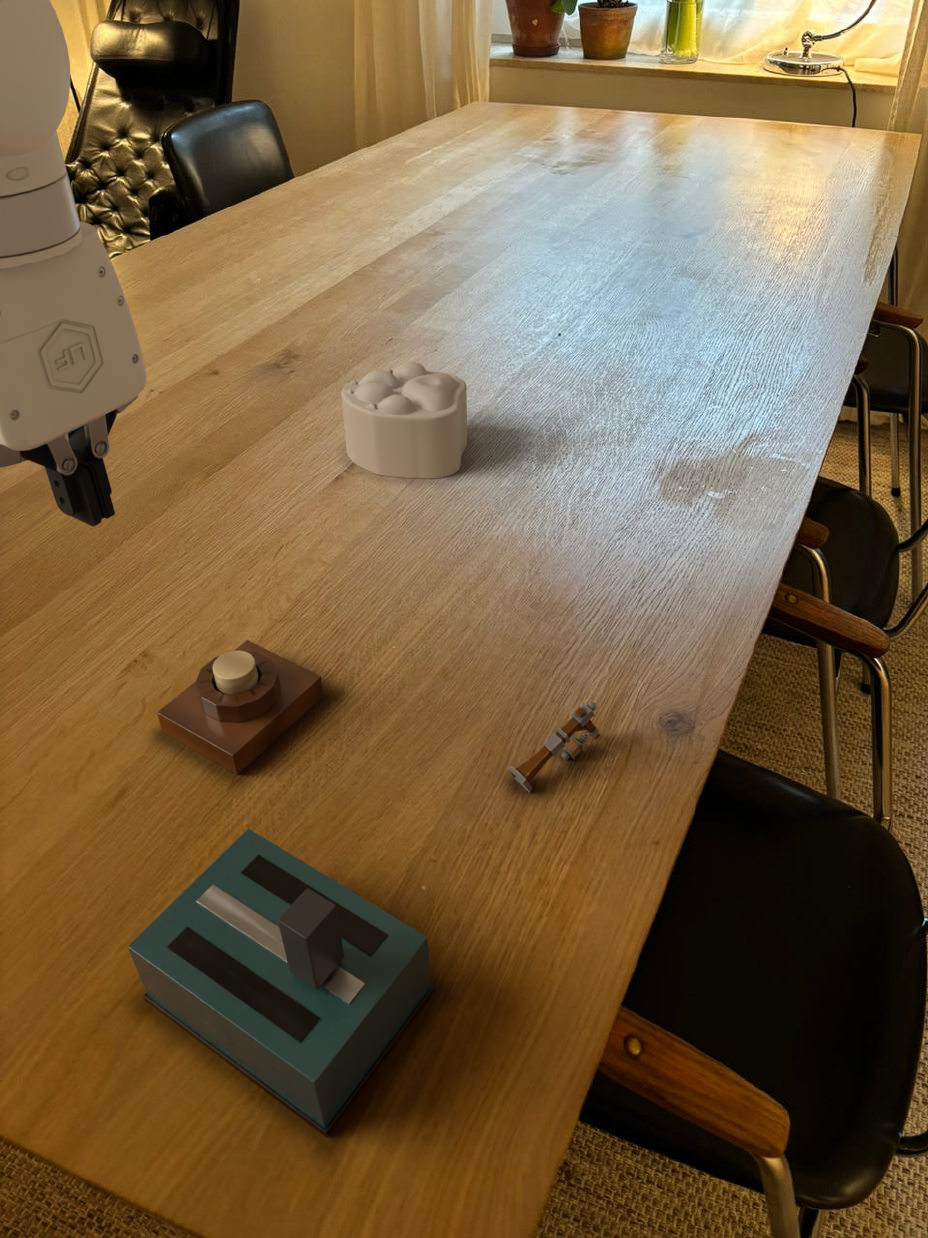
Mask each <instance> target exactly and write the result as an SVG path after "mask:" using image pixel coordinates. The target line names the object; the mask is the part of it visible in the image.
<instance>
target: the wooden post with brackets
mask: <svg viewBox="0 0 928 1238" xmlns="http://www.w3.org/2000/svg"><path fill="white" fill-rule="evenodd" d="M596 710H597V703H595V702H594V701H589V702H588V703H584V702H582V704H581V705H580V706H579V707H578V708H577V709H576V710H574V712H573V713H572V714H571V718H570V719H569V720H568V721H567V722H566V723H564V724H563V726H562V727H557V728H556V729H555V731H556V733H555V732H552V733H551V735H550V737H548V739H546V740H545V741H544V742H542V747H541V748H539V750H537V751H536V752H535V753H534V754H533V755H531V756H530V757H529V758H527V759H526V760H525V761H524V762H522V763H521V764H519V765H517V766H516V767H514V766H513V765H512V764H511V765H510V766H509V767H507V768H506V769H507V770H508V772H510V774H511V775H512V777H513V778H514V779H515V780H516V781H517V782H518V783H519V785H521V786H522V787H523V788H524V789H525V790H526V791H527V792H528V793H531V791H532V790H533V789H534V787H532V785H531V784H532V782H533V781H534V779H535V778H536V776H537V775H538V774H539V773H540V771H541V770H542V769H543V767H544V766H545V764H546V763H548V761H549V760H550V759H552V757H554V758H555V757H556V755H558V753H559V752H560V751H561V750H562V749H563V752H562V753H561V754H560V755H561V759H562V760H564V761H567V760H569V759H570V758H571V759H573V760H575V758H576V756H577V755H578V754H579V753H580V752H581V751H583V752H585V748H584V744H585V743H587V738H589V737H592V738H593V739H594V740H596V741H597V740H598V739H599V738H600V737H601V734H600V730H599V729H598V727H597V726H596V725H595V724H594V722H593V721H592V719H593V718H594V717H595V716H596V714H595V711H596ZM582 731H585V732H584V735H582V734H579V737H574V736H573V735H574V734H576V733H577V732H582ZM588 734H589V735H588ZM570 738H571V739H570ZM566 743H567V744H566Z"/></svg>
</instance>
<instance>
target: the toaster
mask: <svg viewBox="0 0 928 1238" xmlns="http://www.w3.org/2000/svg"><path fill="white" fill-rule="evenodd" d="M307 888H309V889H310V890H312V891H313V892H315V893H317V894H318V895H320V896H322V897H323V898H325V899H326V900H328V901H330V902H331V903H333V904H334V905H336V909H337V915H338V921H339V927H340V933H341V939H342V945H343V951H344V958H343V960H342V961H341V962H340V963H339V964H338V966H337V967H336V968H335V969H334V970H333V972H332V973H331V974H330V975H329V976H328V978H327V979H326V980H325V981H324V982H323V984H322V985H321V986H320V987H319V988H318V990H316V989H314V988H313V987H312V986H310V985H309V984H307V983H306V982H304V981H303V980H301V979H300V978H298V977H297V976H295V975H294V974H292V973H291V972H290V971H289V966H288V962H287V958H286V954H285V950H284V946H283V941H282V937H281V933H280V929H279V925H278V919H279V918H280V917H281V916H282V915H283V914H284V913H285V912H286V910H287V909H288V908H289V907H290V906H291V905H292V904H293V903H294V902H295V901H296V900H297V899H298V897H299V896H300V895H301V894H302V893H303V892H304V891H305V890H306V889H307ZM127 949H128V952H129V954H130V956H131V958H132V962H133V964H134V966H135V968H136V971H137V973H138V975H139V977H140V980H141V982H142V985H143V987H144V990H145V994H143V999H144V1001H145V1002H146V1003H147V1004H148V1005H150V1006H151V1007H153V1008H154V1009H155V1010H157V1011H158V1012H159V1013H160V1014H162V1015H163V1016H165V1017H166V1018H167V1019H169V1021H171V1022H172V1023H174V1024H175V1025H176V1026H178V1027H179V1028H180V1029H182V1030H183V1031H184V1032H186V1033H187V1034H188V1035H190V1036H191V1037H192V1038H194V1039H195V1040H196V1041H198V1042H199V1043H200V1044H202V1045H203V1047H205V1048H206V1049H208V1050H210V1051H211V1053H214V1054H215V1055H216V1056H217V1057H219V1058H220V1059H221V1060H222V1061H224V1062H226V1063H227V1064H228V1065H229V1066H230V1067H232V1068H233V1069H235V1070H236V1071H237V1072H239V1073H240V1074H241V1075H243V1076H244V1077H245V1078H246V1079H248V1080H249V1081H251V1082H252V1083H253V1084H255V1085H256V1086H258V1088H260V1089H261V1090H262V1091H264V1092H265V1093H266V1094H268V1095H269V1096H271V1097H272V1098H273V1099H275V1100H276V1101H277V1102H278V1103H279V1104H281V1105H282V1106H283V1107H285V1108H287V1109H288V1110H289V1111H291V1112H292V1113H293V1114H294V1115H296V1116H297V1117H298V1118H300V1119H301V1120H303V1121H304V1122H305V1123H306V1124H308V1125H309V1126H310V1127H311V1128H313V1129H314V1130H316V1131H317V1132H318V1133H319V1134H321V1135H322V1136H323V1137H325V1138H328V1136H329V1135H330V1134H331V1133H332V1131H333V1130H334V1129H335V1127H336V1126H337V1125H338V1123H339V1122H340V1120H341V1119H342V1118H343V1116H344V1115H345V1114H346V1112H347V1111H348V1110H349V1109H350V1107H351V1106H352V1104H353V1103H354V1102H355V1100H356V1099H357V1098H358V1096H359V1095H360V1094H361V1092H362V1091H363V1089H364V1088H365V1087H366V1085H367V1084H368V1083H369V1081H370V1080H371V1078H372V1077H373V1076H374V1075H375V1073H376V1072H377V1070H378V1069H379V1068H380V1066H381V1065H382V1064H383V1062H384V1061H385V1060H386V1058H387V1057H388V1055H390V1053H391V1051H392V1050H393V1049H394V1047H395V1046H396V1045H397V1044H398V1042H399V1041H400V1040H401V1038H402V1037H403V1035H404V1034H405V1032H406V1031H407V1030H408V1028H409V1027H410V1026H411V1024H412V1023H413V1022H414V1021H415V1019H416V1018H417V1016H418V1015H419V1014H420V1012H422V1010H423V1008H424V1007H425V1006H426V1004H427V1003H428V1002H429V1000H430V998H431V997H432V996H433V995H434V994H435V992H436V991H437V987H436V984H434V983H433V982H431V967H430V951H429V937H428V936H427V935H425V934H423V933H422V932H420V931H419V930H417V929H415V928H414V927H412V926H410V925H408V924H406V923H405V922H403V921H401V920H400V919H398V918H397V917H395V916H393V915H392V914H390V913H389V912H387V911H386V910H383V908H380V907H379V906H377V905H375V904H373V903H372V902H371V901H369V900H368V899H365V898H364V897H363V896H360V895H359V894H357V893H355V892H354V891H352V890H350V889H349V888H347V887H346V886H344V885H343V884H341V883H339V882H338V881H336V880H334V879H332V878H331V877H329V876H328V875H326V874H325V873H323V872H321V871H319V870H317V869H316V868H315V867H313V866H312V865H309V864H308V863H306V862H304V861H303V860H301V859H300V858H298V857H296V856H295V855H293V854H291V853H290V852H288V851H286V850H285V849H283V848H281V847H280V846H278V845H276V844H275V843H273V842H272V841H270V840H269V839H267V838H265V837H264V836H262V835H260V834H258V833H257V832H255V831H253V830H252V829H250V828H247V829H246V830H245V831H244V832H243V833H242V834H241V835H240V836H239V837H238V838H237V839H236V840H235V841H234V842H233V843H232V844H231V845H230V846H229V847H227V849H225V851H223V852H222V854H220V856H218V857H217V858H216V859H215V860H214V862H212V863H211V864H210V865H209V866H208V867H207V868H206V869H205V870H203V872H202V873H201V874H200V875H199V876H197V878H196V879H195V880H194V881H192V883H191V884H189V886H187V887H186V889H185V890H184V891H182V892H181V894H179V896H178V897H176V899H174V900H173V901H172V902H171V903H170V904H169V905H168V906H167V907H166V908H165V909H164V910H163V911H162V912H161V913H160V914H159V915H158V916H157V917H156V918H155V919H154V920H152V922H151V923H150V924H149V925H148V926H147V927H145V928H144V929H143V931H142V932H140V933H139V934H138V935H137V936H136V937H135V938H134V939H133V940H132V941H131V942H130V943H129V944H128V945H127Z"/></svg>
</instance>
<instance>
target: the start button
mask: <svg viewBox="0 0 928 1238" xmlns="http://www.w3.org/2000/svg"><path fill="white" fill-rule="evenodd" d="M220 655H221V656H220ZM220 655H218V656H219V657H218V658H217V659H216V660H215V662H214V664H213V673H214V677H215V681H216V685H217V688H218V689H219V690H220V691H221V692H222V693H225V694H228V695H239V694H242V693H245V692H248V691H250V690H251V689H253V688H254V687H255V685H256V684H257V682H258V673H257V668H256V663H255V659H254V657H253V656H252V655H251V654H249V653H247V652H244V651H234V650H231V651H227V652H225V653H223V654H220Z"/></svg>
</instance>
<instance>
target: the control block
mask: <svg viewBox="0 0 928 1238" xmlns="http://www.w3.org/2000/svg"><path fill="white" fill-rule="evenodd" d="M233 651H244V652H247V653H249V654H251V655H252V656H253V657H254V659H255V663H256V668H257V673H258V682H257V684H256V685H255V687H254V688H253V689H251V690H250V691H248V692H245V693H242V694H239V695H228V694H225V693H222V692H221V691H220V690H219V689H218V688H217V685H216V681H215V677H214V673H213V664H214V662H215V660H216V659H217V658H218V657H219V656H221V655H222V654H220V655H217V656H215V657H213V658H212V659H211V660H209V662H207V663H206V664H204V665H203V666H202V667H201V668H200V669H199V672H198V674H197V677H196V680H195V681H194V682H193V683H192V684H190V685H188V687H186V688H185V689H184V690H182V692H180V693H179V694H178V695H176V696H175V697H174V698H173V699H172V700H170V701H168V702H167V704H165V705H164V706H163V707H161V709H159V710H158V711H157V712H156V715H157V718H158V722H159V725H160V728H161V732H162V733H164V734H166V735H167V736H169V737H171V738H172V739H174V740H176V741H178V742H179V743H181V744H183V745H184V746H186V747H188V748H190V749H191V750H193V751H194V752H196V753H198V754H200V755H202V756H203V757H205V758H207V759H209V760H210V761H212V762H214V763H216V764H218V765H219V766H221V767H222V768H224V769H226V770H228V771H230V772H231V773H233V774H235V776H238V775H240V773H241V772H243V771H245V769H246V768H247V767H248V766H249V765H251V763H253V762H254V761H255V760H256V759H257V758H258V757H259V756H260V755H261V754H262V753H264V752H265V751H266V750H267V749H268V748H269V747H270V746H271V745H272V744H273V743H274V742H276V740H278V739H279V738H280V737H281V736H282V735H283V734H284V733H285V732H286V731H287V730H289V729H290V728H291V727H292V726H293V725H294V724H295V723H296V722H297V721H298V720H299V719H300V718H302V717H303V716H304V715H305V714H306V713H307V712H308V711H309V710H310V709H311V708H313V706H314V705H316V704H317V703H318V702H319V701H320V700H322V698H324V696H325V693H324V687H323V681H322V676H321V675H319V674H317V673H315V672H313V671H311V670H309V669H307V668H305V667H303V666H301V665H299V664H297V663H295V662H293V661H291V660H289V659H287V658H285V657H283V656H281V655H279V654H277V653H274V652H273V651H271V650H269V649H267V648H265V647H262V646H261V645H258V644H257V643H255V642H253V641H250V640H249V639H246V640H245V641H244V642H242V643H241V644H240V645H239V646H237V647H236V648H235V649H234V650H233Z"/></svg>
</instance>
